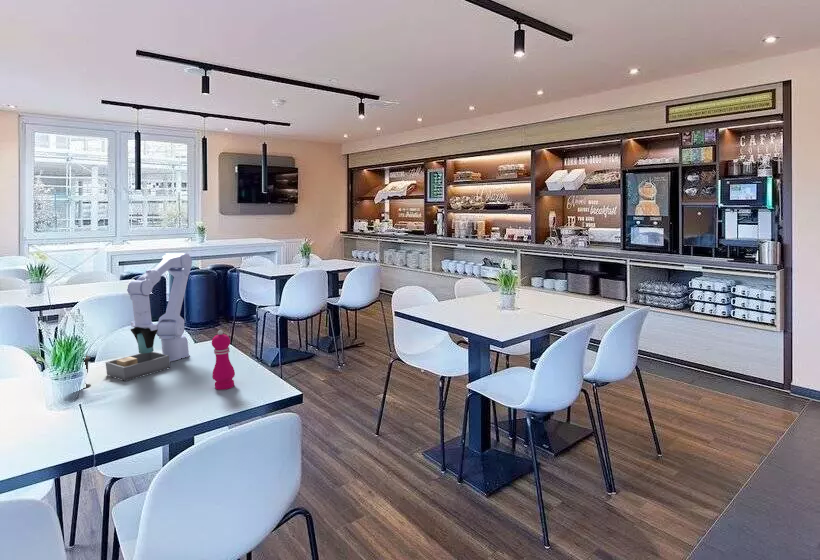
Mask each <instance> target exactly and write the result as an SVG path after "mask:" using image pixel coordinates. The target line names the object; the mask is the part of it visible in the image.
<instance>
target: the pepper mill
mask: <svg viewBox="0 0 820 560" xmlns="http://www.w3.org/2000/svg"><path fill="white" fill-rule="evenodd" d="M230 345H231V338H230V337H229V335H228V334H225V333H224V331H223V330H222V329H219V330H217V334H216V335H214V337H213V338H212V339H211V346H212V347H213V348H214V349H213V353H214V355H215V363H214V367H213V371H212V379H213V381H214V389H216V390H219V391H221V390H229V389H232V388H234V387H235V380H234V377H235V376H236V375H235V369H234V366H233V364H232V363H231V360H230V357H229V356H230V355H229V353H230V352H231V351H230V347H229V346H230Z"/></svg>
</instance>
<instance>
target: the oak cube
mask: <svg viewBox="0 0 820 560" xmlns="http://www.w3.org/2000/svg"><path fill="white" fill-rule="evenodd" d="M126 357H127V358H124V357H122V358H123V359H120V358H118V359H119V360H117V365H119V366H123V367H127V366H130V365H134V364H138V361H137V358H133V357H128V356H126Z"/></svg>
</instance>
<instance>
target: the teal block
mask: <svg viewBox="0 0 820 560" xmlns="http://www.w3.org/2000/svg"><path fill="white" fill-rule="evenodd" d="M137 340H138V343H137V348H138V354H140V353H150V352H155V351H154V346H153V347H151V348H147V347H146V344H145V340H144V337H143V335H142V333H139V334H137ZM137 340H136V341H137Z"/></svg>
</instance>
